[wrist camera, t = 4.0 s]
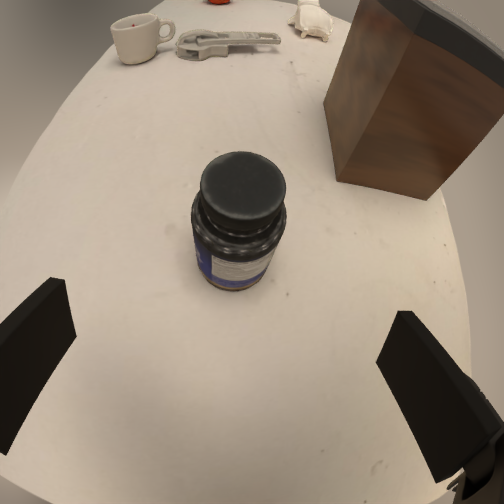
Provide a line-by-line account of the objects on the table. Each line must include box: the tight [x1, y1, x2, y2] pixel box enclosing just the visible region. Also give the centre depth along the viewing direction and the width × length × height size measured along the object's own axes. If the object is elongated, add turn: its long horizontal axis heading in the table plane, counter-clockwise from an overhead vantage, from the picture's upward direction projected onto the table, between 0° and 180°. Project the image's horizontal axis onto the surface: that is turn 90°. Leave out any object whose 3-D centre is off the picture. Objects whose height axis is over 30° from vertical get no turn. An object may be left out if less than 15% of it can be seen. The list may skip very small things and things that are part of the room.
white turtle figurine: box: [288, 0, 334, 42], centre depth 47 cm, size 9×8×15 cm
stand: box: [323, 0, 504, 201], centre depth 25 cm, size 15×13×19 cm
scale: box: [377, 0, 504, 89], centre depth 15 cm, size 15×13×3 cm
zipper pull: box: [176, 30, 281, 61], centre depth 39 cm, size 8×18×4 cm, turn 102°
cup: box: [111, 13, 175, 64], centre depth 35 cm, size 11×8×8 cm
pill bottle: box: [191, 151, 287, 291], centre depth 20 cm, size 6×6×11 cm
